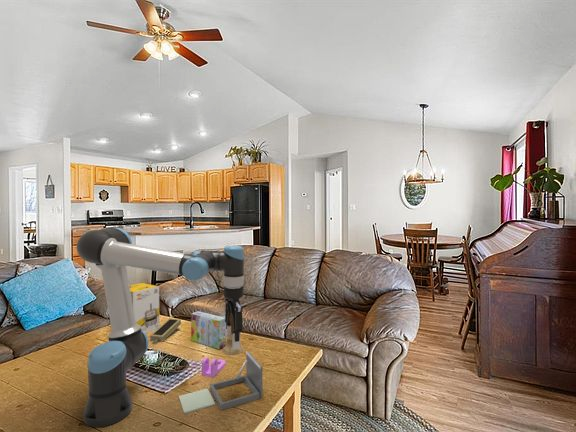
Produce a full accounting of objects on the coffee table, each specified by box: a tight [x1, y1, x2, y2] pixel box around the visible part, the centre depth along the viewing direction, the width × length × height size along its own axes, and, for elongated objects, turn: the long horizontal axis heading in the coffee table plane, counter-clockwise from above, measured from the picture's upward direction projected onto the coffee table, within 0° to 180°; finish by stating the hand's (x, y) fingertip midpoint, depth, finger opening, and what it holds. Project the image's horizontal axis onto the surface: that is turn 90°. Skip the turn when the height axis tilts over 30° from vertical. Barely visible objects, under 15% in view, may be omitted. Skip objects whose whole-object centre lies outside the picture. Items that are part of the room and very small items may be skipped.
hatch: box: [209, 350, 264, 411], centre depth 128 cm, size 16×15×12 cm
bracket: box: [201, 357, 226, 378], centre depth 147 cm, size 13×6×7 cm, turn 164°
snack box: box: [190, 310, 227, 351], centre depth 174 cm, size 21×6×15 cm, turn 58°
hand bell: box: [221, 311, 245, 356], centre depth 127 cm, size 8×8×16 cm
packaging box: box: [129, 282, 161, 334], centre depth 192 cm, size 16×16×25 cm
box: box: [149, 317, 182, 345], centre depth 184 cm, size 8×22×5 cm, turn 168°
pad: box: [178, 388, 216, 415], centre depth 123 cm, size 11×11×1 cm
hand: (233, 345), depth 127 cm, fingers closed on hand bell, 6 cm apart
